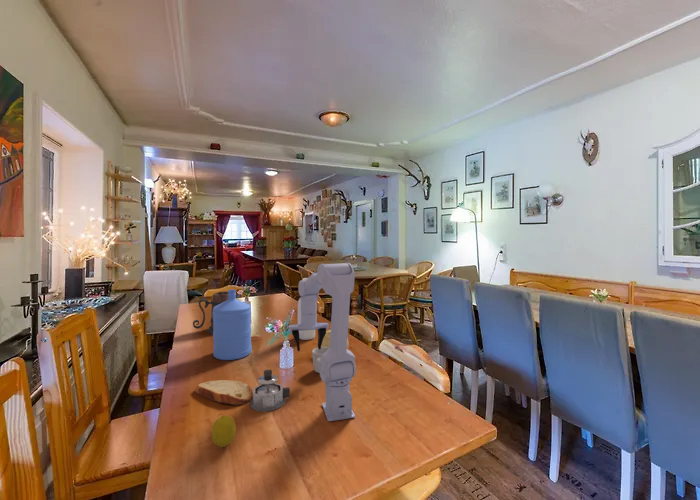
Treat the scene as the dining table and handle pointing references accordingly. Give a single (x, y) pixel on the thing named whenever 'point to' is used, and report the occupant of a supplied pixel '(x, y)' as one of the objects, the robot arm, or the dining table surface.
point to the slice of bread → (226, 391)
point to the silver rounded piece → (267, 384)
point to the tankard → (216, 300)
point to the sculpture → (327, 340)
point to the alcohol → (305, 333)
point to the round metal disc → (266, 408)
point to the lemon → (223, 431)
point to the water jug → (232, 329)
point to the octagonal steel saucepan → (270, 397)
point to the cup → (318, 357)
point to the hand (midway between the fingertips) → (308, 349)
